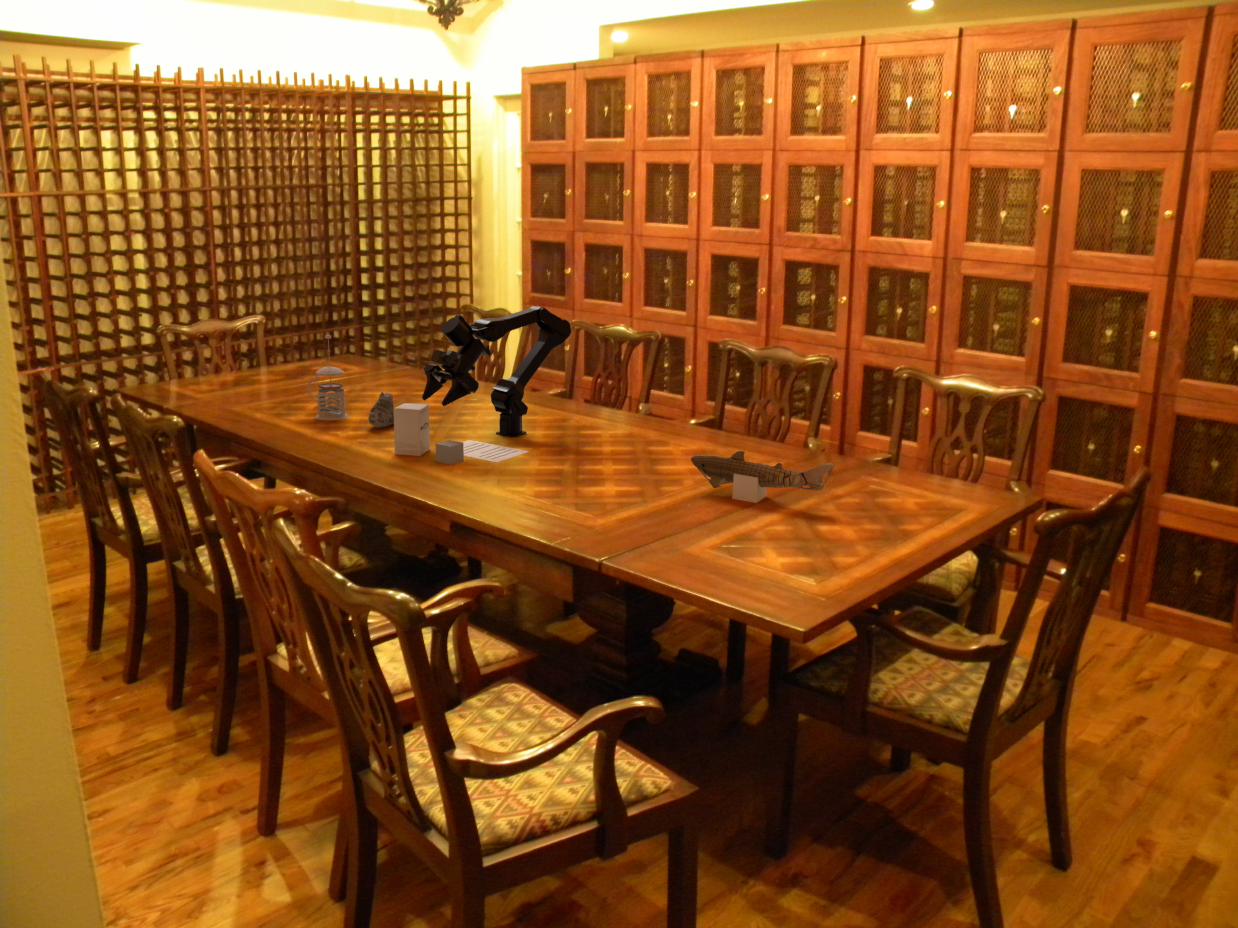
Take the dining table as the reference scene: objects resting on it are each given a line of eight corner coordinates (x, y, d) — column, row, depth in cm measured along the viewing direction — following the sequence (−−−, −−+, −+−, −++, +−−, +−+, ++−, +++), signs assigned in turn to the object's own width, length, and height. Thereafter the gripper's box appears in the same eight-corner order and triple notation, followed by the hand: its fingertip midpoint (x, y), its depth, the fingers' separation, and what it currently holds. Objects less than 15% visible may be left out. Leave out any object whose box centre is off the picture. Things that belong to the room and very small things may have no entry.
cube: (449, 458, 279) (448, 440, 277) (463, 461, 276) (463, 442, 275) (436, 462, 275) (435, 443, 273) (450, 465, 272) (450, 446, 271)
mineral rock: (375, 432, 304) (373, 398, 301) (351, 426, 310) (349, 393, 308) (409, 425, 314) (408, 391, 311) (385, 419, 320) (384, 386, 317)
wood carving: (823, 516, 237) (827, 468, 234) (682, 491, 254) (684, 446, 251) (836, 506, 245) (840, 459, 242) (698, 482, 261) (700, 438, 258)
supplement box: (420, 456, 279) (419, 409, 276) (393, 454, 281) (392, 408, 277) (430, 450, 286) (429, 404, 283) (404, 448, 288) (403, 402, 284)
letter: (469, 440, 297) (469, 439, 297) (529, 452, 286) (529, 451, 286) (435, 450, 286) (435, 449, 286) (496, 463, 275) (496, 462, 275)
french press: (343, 420, 317) (340, 337, 310) (305, 419, 317) (300, 336, 311) (352, 413, 326) (349, 332, 320) (314, 412, 327) (310, 331, 320)
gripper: (428, 334, 290) (394, 378, 286) (469, 342, 277) (434, 389, 273) (453, 360, 298) (420, 403, 293) (493, 369, 285) (460, 415, 280)
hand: (432, 402), depth 285 cm, fingers open, 9 cm apart
